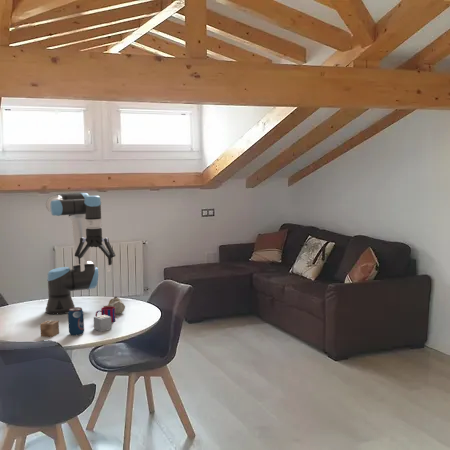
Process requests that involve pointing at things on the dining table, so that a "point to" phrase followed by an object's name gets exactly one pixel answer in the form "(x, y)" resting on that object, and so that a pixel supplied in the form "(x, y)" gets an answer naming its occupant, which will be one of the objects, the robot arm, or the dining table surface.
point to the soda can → (76, 321)
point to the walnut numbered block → (49, 328)
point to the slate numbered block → (102, 323)
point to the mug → (108, 312)
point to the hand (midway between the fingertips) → (95, 271)
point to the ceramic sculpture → (116, 305)
